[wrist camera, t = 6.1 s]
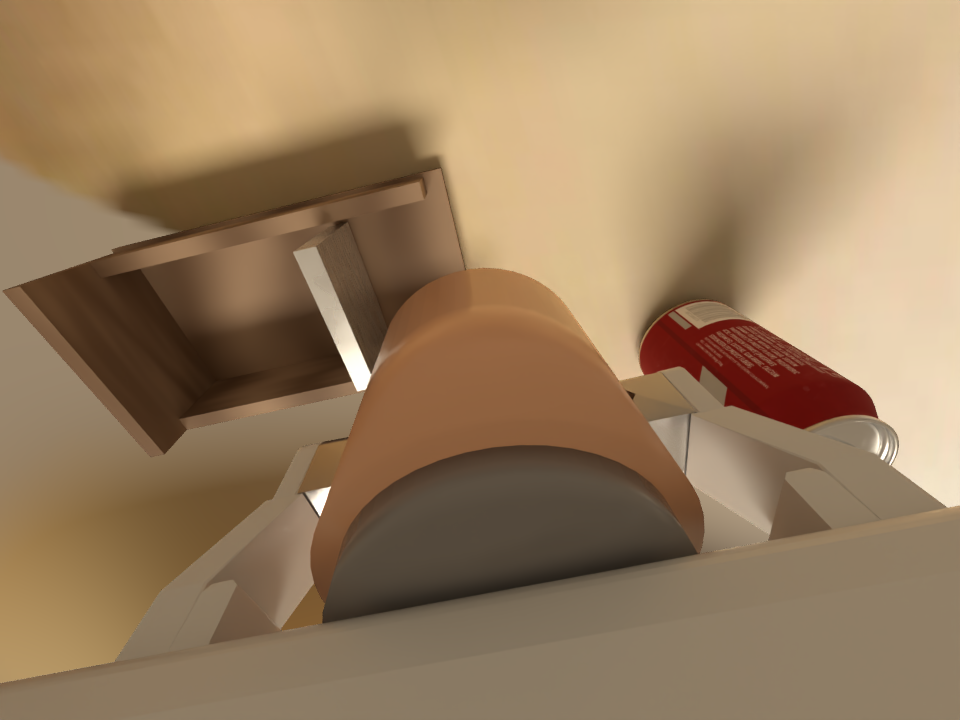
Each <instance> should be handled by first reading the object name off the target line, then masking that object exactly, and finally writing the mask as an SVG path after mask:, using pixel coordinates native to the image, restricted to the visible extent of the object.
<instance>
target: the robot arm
mask: <svg viewBox="0 0 960 720" xmlns="http://www.w3.org/2000/svg"><path fill="white" fill-rule="evenodd" d="M619 382H620V383H621V384H622V386H623V387H624V389H625V390H626V391H627V393H628V394H629V396H630V397H631V399H632V400H633V401H634V403H635V404H636V406H637V407H638V409H639V410H640V411H641V413H642V414H643V416H644V417H645V419H646V420H647V421H648V423H649V424H650V426H651V427H652V429H653V430H654V431H655V433H656V434H657V436H658V437H659V438H660V440H661V441H662V443H663V444H664V446H665V447H666V448H667V450H668V451H669V453H670V454H671V456H672V457H673V458H674V460H675V461H676V463H677V464H678V466H679V467H680V468H681V470H682V471H683V473H684V474H685V476H686V477H687V478H688V480H689V481H690V483H691V485H693V486H694V487H696V488H698V489H699V490H701V491H702V492H704V493H705V494H707V495H708V496H710V497H711V498H713V499H714V500H716V501H717V502H719V503H721V504H722V505H724V506H725V507H727V508H729V509H730V510H731V511H733V512H735V513H736V514H738V515H739V516H741V517H742V518H744V519H745V520H747V521H748V522H750V523H752V524H753V525H755V526H757V527H758V528H759V529H761V530H762V531H764V532H766V533H767V534H769V539H768V541H766V542H760V543H755V544H750V545H744V546H738V547H733V548H728V549H722V550H717V551H711V552H706V553H701V554H695V555H690V556H685V557H679V558H674V559H669V560H663V561H658V562H653V563H647V564H642V565H636V566H631V567H626V568H620V569H615V570H610V571H604V572H599V573H594V574H588V575H583V576H577V577H572V578H567V579H561V580H556V581H550V582H545V583H540V584H534V585H529V586H523V587H518V588H512V589H507V590H502V591H496V592H491V593H485V594H480V595H475V596H469V597H464V598H458V599H453V600H447V601H442V602H437V603H431V604H426V605H420V606H415V607H409V608H404V609H399V610H393V611H388V612H382V613H377V614H372V615H366V616H361V617H355V618H350V619H345V620H339V621H334V622H328V623H323V624H318V625H313V626H307V627H302V628H296V629H291V630H285V631H282V630H281V628H282V626H283V625H284V623H285V622H286V621H287V620H288V618H289V617H290V615H291V614H292V613H293V611H294V610H295V608H296V607H297V606H298V604H299V603H300V601H301V600H302V599H303V597H304V596H305V595H306V593H307V592H308V590H309V589H310V588H311V586H312V585H313V584H314V581H313V576H312V572H311V568H310V550H311V545H312V540H313V535H314V532H315V529H316V526H317V523H318V521H319V518H320V515H321V512H322V510H323V507H324V504H325V501H326V498H327V496H328V493H329V490H330V487H331V485H332V482H333V479H334V476H335V473H336V471H337V468H338V465H339V462H340V460H341V457H342V454H343V451H344V449H345V446H346V443H347V440H348V437H347V438H342V439H336V440H331V441H325V442H322V443H316V444H311V445H306V446H303V447H301V448H300V449H298V451H297V453H296V455H295V457H294V459H293V461H292V463H291V465H290V467H289V469H288V471H287V472H286V475H285V476H284V478H283V480H282V483H281V484H280V486H279V488H278V490H277V492H276V494H275V496H274V498H273V500H268V501H265V502H264V503H263V504H262V505H261V506H260V507H259V508H257V509H256V510H255V511H254V512H253V513H251V514H250V515H249V516H248V517H247V518H246V519H244V520H243V521H242V522H241V523H240V524H239V525H237V526H236V527H235V528H234V529H233V530H232V531H230V532H229V533H228V534H227V535H226V536H225V537H223V538H222V539H221V540H220V541H219V542H218V543H216V544H215V545H214V546H213V547H212V548H211V549H209V550H208V551H207V552H206V553H205V554H204V555H202V556H201V557H200V558H199V559H198V560H197V561H195V562H194V563H193V564H192V565H191V566H190V567H189V568H187V569H186V570H185V571H184V572H183V573H181V574H180V575H179V576H178V577H177V578H176V579H174V580H173V581H172V582H171V583H170V584H169V585H167V586H166V587H165V588H164V589H163V590H162V591H160V593H159V594H158V596H157V597H156V599H155V600H154V602H153V603H152V605H151V606H150V608H149V610H148V611H147V613H146V614H145V616H144V617H143V619H142V620H141V622H140V623H139V625H138V626H137V628H136V629H135V631H134V632H133V634H132V636H131V637H130V639H129V640H128V642H127V643H126V645H125V646H124V648H123V649H122V651H121V652H120V654H119V656H118V657H117V659H116V660H115V662H112V663H107V664H102V665H96V666H91V667H86V668H80V669H75V670H69V671H64V672H58V673H53V674H48V675H42V676H37V677H32V678H26V679H21V680H16V681H10V682H4V683H0V720H960V506H955V507H950V508H947V507H946V506H945V505H943V504H942V503H941V502H939V501H938V500H936V499H935V498H934V497H932V496H931V495H930V494H928V493H927V492H926V491H924V490H923V489H922V488H920V487H919V486H918V485H916V484H915V483H914V482H912V481H911V480H910V479H908V478H907V477H905V476H904V475H903V474H901V473H900V472H899V471H897V470H896V469H895V468H893V467H892V466H891V465H889V464H888V463H887V462H885V461H884V460H883V459H881V458H880V457H879V456H877V455H876V454H874V453H871V452H868V451H865V450H862V449H859V448H856V447H853V446H850V445H847V444H844V443H841V442H838V441H835V440H832V439H829V438H826V437H823V436H820V435H817V434H814V433H811V432H809V431H806V430H803V429H800V428H797V427H794V426H791V425H788V424H785V423H782V422H779V421H776V420H773V419H770V418H767V417H764V416H761V415H758V414H755V413H752V412H749V411H746V410H743V409H740V408H737V407H734V406H727V407H724V406H723V405H722V404H721V403H720V402H719V401H718V400H717V399H716V398H715V397H713V396H712V395H711V394H710V393H709V392H708V391H707V390H706V389H705V388H704V387H703V386H702V385H701V384H700V383H699V382H698V381H697V380H696V379H695V378H694V377H693V376H692V375H691V374H690V373H689V372H687V371H686V370H685V369H684V368H682V367H675V368H671V369H667V370H663V371H658V372H657V373H653V374H648V375H644V376H639V377H634V378H630V379H625V380H620V381H619Z"/></svg>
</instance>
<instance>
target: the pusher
mask: <svg viewBox="0 0 960 720" xmlns="http://www.w3.org/2000/svg"><path fill="white" fill-rule="evenodd" d="M293 253H294V256H295V258H296V260H297V262H298V264H299V266H300V269H301V271H302V273H303V275H304V277H305V279H306V281H307V284H308V286H309V288H310V290H311V292H312V294H313V297H314V299H315V301H316V303H317V305H318V307H319V310H320V312H321V314H322V316H323V318H324V320H325V323H326V325H327V327H328V329H329V331H330V333H331V336H332V338H333V340H334V342H335V344H336V346H337V349H338V351H339V353H340V355H341V357H342V359H343V362H344V364H345V366H346V368H347V370H348V372H349V375H350V377H351V379H352V381H353V383H354V385H355V388H356V390H357V391H360V390H365V389H366V388H367V385H368V382H369V379H370V376H371V374H372V371H373V368H374V365H375V363H376V360H377V357H378V354H379V352H380V349H381V346H382V343H383V340H384V338H385V335H386V332H387V330H388V327H387V325H386V322H385V319H384V317H383V314H382V311H381V309H380V306H379V303H378V301H377V298H376V295H375V293H374V290H373V287H372V285H371V282H370V279H369V277H368V274H367V271H366V269H365V266H364V263H363V261H362V258H361V255H360V253H359V250H358V247H357V245H356V242H355V239H354V237H353V234H352V231H351V229H350V226H349V223H348V222H345V223H340V224H336V225H332V226H329V227H328V228H327V229H325V230H324V231H322V232H321V233H319V234H318V235H317V236H315V237H314V238H312V239H311V240H309V241H308V242H306V243H305V244H304V245H302V246H301V247H299V248H298V249H296V250H295V251H294V252H293Z"/></svg>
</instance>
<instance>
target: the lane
mask: <svg viewBox="0 0 960 720" xmlns="http://www.w3.org/2000/svg"><path fill="white" fill-rule="evenodd" d="M345 222H348V223H349V226H350V229H351V231H352V234H353V237H354V239H355V242H356V245H357V247H358V250H359V253H360V255H361V258H362V261H363V263H364V266H365V269H366V271H367V274H368V277H369V279H370V282H371V285H372V287H373V290H374V293H375V295H376V298H377V301H378V303H379V306H380V309H381V311H382V314H383V317H384V319H385V322H386V325H387V327H388V328H389V325H390V323H391V321H392V319H393V318H394V316H395V314H396V313H397V311H398V310H399V309H400V308H401V306H402V305H403V304H404V303H405V302H406V301H407V300H408V299H409V298H410V297H411V296H412V295H413V294H414V293H415V292H417V291H418V290H419V289H421V288H422V287H424V286H425V285H427V284H428V283H430V282H432V281H434V280H436V279H438V278H440V277H443V276H446V275H448V274H451V273H454V272H459V271H463V270H465V266H464V262H463V258H462V253H461V249H460V245H459V241H458V237H457V233H456V228H455V224H454V220H453V216H452V212H451V207H450V203H449V199H448V195H447V191H446V187H445V182H444V178H443V174H442V170H441V168H438V169H433V170H429V171H425V172H421V173H417V174H413V175H409V176H405V177H401V178H397V179H393V180H389V181H385V182H381V183H377V184H373V185H369V186H365V187H361V188H357V189H353V190H348V191H344V192H340V193H336V194H332V195H328V196H324V197H320V198H316V199H312V200H308V201H304V202H300V203H296V204H292V205H288V206H284V207H280V208H276V209H272V210H267V211H263V212H259V213H255V214H251V215H247V216H243V217H239V218H235V219H231V220H227V221H223V222H219V223H215V224H211V225H207V226H203V227H199V228H195V229H191V230H186V231H182V232H178V233H174V234H170V235H166V236H162V237H158V238H154V239H150V240H146V241H142V242H138V243H134V244H130V245H126V246H122V247H118V248H115V249H112V251H113V254H110V255H107V256H104V257H101V258H98V259H95V260H92V261H89V262H86V263H83V264H80V265H77V266H74V267H71V268H68V269H65V270H63V271H60V272H56V273H53V274H50V275H48V276H45V277H42V278H39V279H36V280H33V281H30V282H27V283H24V284H21V285H18V286H15V287H12V288H9V289H6V290H3V292H4V293H5V295H6V296H7V297H8V298H9V299H10V300H11V301H12V303H13V304H14V305H15V306H16V307H17V308H18V309H19V310H20V311H21V312H22V314H23V315H24V316H25V317H26V318H27V319H28V320H29V322H30V323H31V324H32V325H33V326H34V327H35V328H36V329H37V330H38V332H39V333H40V334H41V335H42V336H43V337H44V338H45V339H46V341H47V342H48V343H49V344H50V345H51V346H52V347H53V348H54V350H55V351H56V352H57V353H58V354H59V355H60V356H61V357H62V359H63V360H64V361H65V362H66V363H67V364H68V365H69V366H70V367H71V369H72V370H73V371H74V372H75V373H76V374H77V375H78V376H79V378H80V379H81V380H82V381H83V382H84V383H85V384H86V385H87V386H88V388H89V389H90V390H91V391H92V392H93V393H94V394H95V396H96V397H97V398H98V399H99V400H100V401H101V402H102V403H103V405H105V407H107V409H108V410H109V411H110V412H111V413H112V415H113V416H114V417H115V418H116V419H117V420H118V421H119V422H120V423H121V425H122V426H123V427H124V428H125V429H126V430H127V431H128V433H129V434H130V435H131V436H132V437H133V438H134V439H135V440H136V442H137V443H138V444H139V445H140V446H141V447H142V448H143V449H144V450H145V452H146V453H147V454H148V455H149V456H150V457H154V456H159V455H164V454H165V453H166V452H167V451H168V450H169V449H170V448H171V447H172V446H173V444H174V443H175V442H176V441H177V440H178V439H179V438H180V437H181V436H182V434H184V432H185V431H186V430H189V429H193V428H198V427H203V426H207V425H211V424H216V423H221V422H226V421H230V420H235V419H240V418H244V417H249V416H254V415H258V414H263V413H268V412H272V411H277V410H282V409H286V408H291V407H295V406H300V405H304V404H309V403H314V402H319V401H323V400H328V399H333V398H337V397H342V396H347V395H351V394H356V393H361V392H365V390H366V389H365V390H360V391H357V390H356V388H355V385H354V383H353V381H352V379H351V377H350V375H349V372H348V370H347V368H346V366H345V364H344V362H343V359H342V357H341V355H340V353H339V351H338V349H337V346H336V344H335V342H334V340H333V338H332V336H331V333H330V331H329V329H328V327H327V325H326V323H325V320H324V318H323V316H322V314H321V312H320V310H319V307H318V305H317V303H316V301H315V299H314V297H313V294H312V292H311V290H310V288H309V286H308V284H307V281H306V279H305V277H304V275H303V273H302V271H301V269H300V266H299V264H298V262H297V260H296V258H295V256H294V253H293V252H294V251H295V250H296V249H298V248H299V247H301V246H302V245H304V244H305V243H306V242H308V241H309V240H311V239H312V238H314V237H315V236H317V235H318V234H319V233H321V232H322V231H324V230H325V229H327V228H328V227H329V226H332V225H336V224H340V223H345Z"/></svg>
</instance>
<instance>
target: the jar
mask: <svg viewBox="0 0 960 720" xmlns="http://www.w3.org/2000/svg"><path fill="white" fill-rule="evenodd" d="M703 537H704V516H703V511H702V507H701V504H700V501H699V498H698V496H697V494H696V492H695V490H694V488H693V487H692V485H691V483H690V481H689V480H688V478H687V477H686V476H685V474H684V473H683V471H682V470H681V468H680V467H679V466H678V464H677V463H676V461H675V460H674V458H673V457H672V456H671V454H670V453H669V451H668V450H667V448H666V447H665V446H664V444H663V443H662V441H661V440H660V438H659V437H658V436H657V434H656V433H655V431H654V430H653V429H652V427H651V426H650V424H649V423H648V421H647V420H646V419H645V417H644V416H643V414H642V413H641V411H640V410H639V409H638V407H637V406H636V404H635V403H634V401H633V400H632V399H631V397H630V396H629V394H628V393H627V391H626V390H625V389H624V387H623V386H622V384H621V383H620V382H619V380H618V379H617V377H616V376H615V374H614V373H613V372H612V370H611V369H610V367H609V366H608V364H607V363H606V362H605V360H604V359H603V357H602V356H601V354H600V353H599V352H598V350H597V349H596V347H595V346H594V344H593V343H592V342H591V340H590V339H589V337H588V336H587V335H586V333H585V332H584V330H583V329H582V327H581V326H580V325H579V323H578V322H577V320H576V319H575V317H574V316H573V315H572V313H571V312H570V310H569V309H568V308H567V306H566V305H565V304H564V303H563V301H562V300H561V299H560V298H559V297H558V296H557V295H556V294H555V293H554V292H553V291H551V290H550V289H549V288H547V287H546V286H544V285H543V284H541V283H540V282H538V281H536V280H534V279H532V278H530V277H528V276H525V275H522V274H519V273H516V272H513V271H508V270H502V269H492V268H479V269H468V270H463V271H459V272H454V273H451V274H448V275H446V276H443V277H440V278H438V279H436V280H434V281H432V282H430V283H428V284H427V285H425V286H424V287H422V288H421V289H419V290H418V291H417V292H415V293H414V294H413V295H412V296H411V297H410V298H409V299H408V300H407V301H406V302H405V303H404V304H403V305H402V306H401V308H400V309H399V310H398V311H397V313H396V314H395V316H394V318H393V319H392V321H391V323H390V325H389V328H388V330H387V332H386V335H385V338H384V340H383V343H382V346H381V349H380V352H379V354H378V357H377V360H376V363H375V365H374V368H373V371H372V374H371V376H370V379H369V382H368V385H367V388H366V390H365V393H364V396H363V399H362V401H361V404H360V407H359V410H358V413H357V415H356V418H355V421H354V424H353V426H352V429H351V432H350V435H349V437H348V440H347V443H346V446H345V449H344V451H343V454H342V457H341V460H340V462H339V465H338V468H337V471H336V473H335V476H334V479H333V482H332V485H331V487H330V490H329V493H328V496H327V498H326V501H325V504H324V507H323V510H322V512H321V515H320V518H319V521H318V523H317V526H316V529H315V532H314V535H313V540H312V545H311V550H310V568H311V572H312V576H313V581H314V584H315V586H316V588H317V591H318V593H319V595H320V597H321V599H322V600H323V602H324V603H325V607H324V610H323V623H328V622H334V621H339V620H345V619H350V618H355V617H361V616H366V615H372V614H377V613H382V612H388V611H393V610H399V609H404V608H409V607H415V606H420V605H426V604H431V603H437V602H442V601H447V600H453V599H458V598H464V597H469V596H475V595H480V594H485V593H491V592H496V591H502V590H507V589H512V588H518V587H523V586H529V585H534V584H540V583H545V582H550V581H556V580H561V579H567V578H572V577H577V576H583V575H588V574H594V573H599V572H604V571H610V570H615V569H620V568H626V567H631V566H636V565H642V564H647V563H653V562H658V561H663V560H669V559H674V558H679V557H685V556H690V555H695V554H700V551H701V548H702V544H703Z"/></svg>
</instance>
